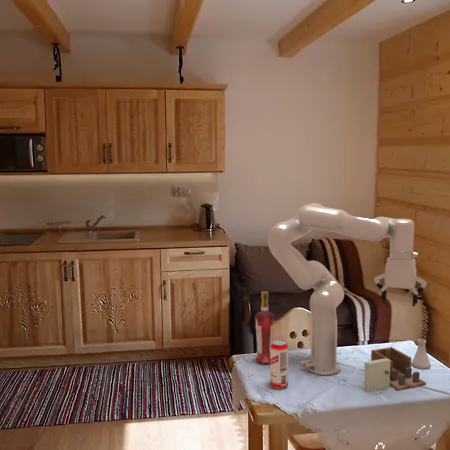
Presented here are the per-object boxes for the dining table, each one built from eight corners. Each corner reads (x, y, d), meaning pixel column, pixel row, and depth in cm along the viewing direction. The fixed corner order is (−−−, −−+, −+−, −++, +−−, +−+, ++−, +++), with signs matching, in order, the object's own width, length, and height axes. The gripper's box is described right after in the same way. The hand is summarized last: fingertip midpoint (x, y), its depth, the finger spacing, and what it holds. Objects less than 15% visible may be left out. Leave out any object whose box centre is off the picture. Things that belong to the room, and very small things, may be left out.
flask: (432, 370, 190) (433, 344, 189) (412, 369, 192) (413, 343, 190) (429, 362, 197) (430, 337, 196) (409, 361, 199) (410, 336, 197)
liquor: (254, 358, 203) (254, 290, 199) (272, 357, 203) (272, 289, 200) (256, 365, 196) (256, 295, 192) (275, 365, 196) (275, 294, 192)
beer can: (276, 391, 175) (276, 346, 172) (266, 384, 180) (266, 340, 178) (291, 387, 177) (292, 343, 175) (281, 380, 183) (281, 337, 181)
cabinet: (397, 390, 174) (398, 368, 173) (365, 370, 191) (366, 349, 190) (425, 385, 178) (426, 363, 177) (392, 365, 195) (393, 345, 194)
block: (368, 393, 173) (369, 365, 171) (363, 389, 175) (364, 361, 174) (390, 388, 176) (391, 361, 174) (385, 385, 178) (386, 358, 177)
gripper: (428, 254, 174) (426, 303, 176) (376, 251, 181) (374, 298, 183) (427, 259, 167) (425, 309, 169) (373, 255, 174) (371, 303, 176)
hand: (399, 303), depth 176 cm, fingers open, 9 cm apart
